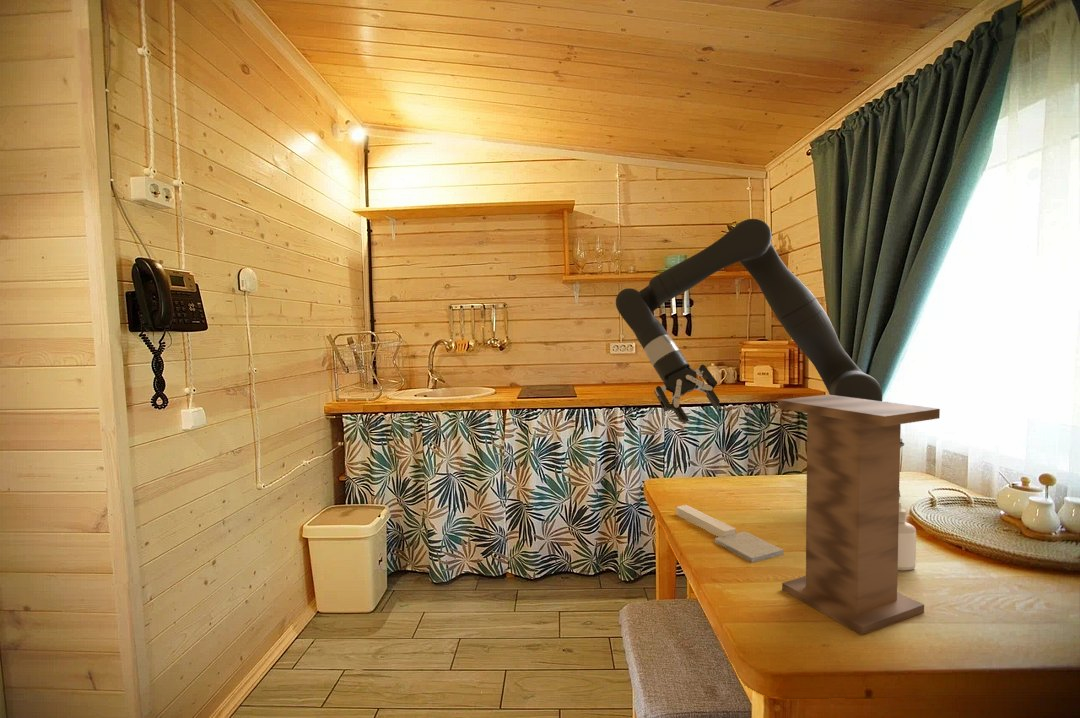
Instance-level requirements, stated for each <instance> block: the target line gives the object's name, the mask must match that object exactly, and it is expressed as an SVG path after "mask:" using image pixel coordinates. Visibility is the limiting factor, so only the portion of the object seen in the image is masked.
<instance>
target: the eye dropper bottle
mask: <svg viewBox="0 0 1080 718" xmlns="http://www.w3.org/2000/svg"><path fill="white" fill-rule="evenodd" d="M916 556H917V529H916V527H915V526H914V525H912V524H911V523H909V522H907V511H906V509H903V508H902V505H901V502H900V501H899V526H898V571H910V570H914V569H915V568H916V565H917V564H916V562H917V560H916V559H917V557H916Z"/></svg>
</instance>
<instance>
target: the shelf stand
mask: <svg viewBox="0 0 1080 718" xmlns="http://www.w3.org/2000/svg"><path fill="white" fill-rule="evenodd" d="M777 408H778V409H780V410H781V409H782V410H787V411H793V412H799V413H804V414H806V415H807V417H806V419H807V420H806V423H807V425H806V426H807V427H806V510H805V511H806V517H805V518H806V523H805V524H806V526H805V538H806V539H805V576H800V577H797V578H795V579H791V580H787V581H784V582H782V584H781V585H782V586H781V589H782V591H784V592H785V593H787V594H789V595H790V596H792V597H794V598H795V599H797V600H799V601H801V602H803V603H805V604H806V605H808V606H811V607H812V608H814V609H816V610H817V611H819V612H820V613H822V614H824V615H825V616H828V617H829V618H831V619H833V620H834V621H836V622H838V623H840V624H842V625H843V626H845V627H847V628H848V629H850V630H852V631H853V632H855V633H857V634H859V635H861V636H863V635H867V634H869V633H871V632H875V631H877V630H880V629H883V628H885V627H888V626H890V625H893V624H895V623H899V622H901V621H904V620H907V619H909V618H911V617H915V616H916V615H920V614H923V613H925V604H924V603H921V602H919V601H917V600H916V599H913V598H911V597H908V596H907V595H904V594H902V593H900V592H898V571H899V570H898V526H899V502H900V497H899V490H900V479H901V477H900V475H901V474H900V473H901V471H900V469H901V468H900V466H901V465H900V464H901V448H900V438H901V427H902V425H904V424H910V423H918V422H923V421H933V420H936V419H937V420H938V419H940V415H941V413H940V412H941V411H940V410H941V409H940V408H936V407H928V406H922V405H921V406H919V405H913V404H912V405H911V404H904V403H897V402H889V401H883V400H882V401H875V400H867V399H859V398H851V397H844V396H836V395H830V394H821V395H813V396H812V395H811V396H802V397H793V398H783V399H777Z"/></svg>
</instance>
